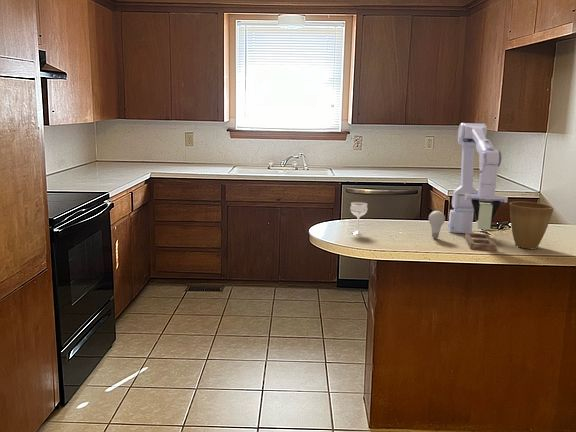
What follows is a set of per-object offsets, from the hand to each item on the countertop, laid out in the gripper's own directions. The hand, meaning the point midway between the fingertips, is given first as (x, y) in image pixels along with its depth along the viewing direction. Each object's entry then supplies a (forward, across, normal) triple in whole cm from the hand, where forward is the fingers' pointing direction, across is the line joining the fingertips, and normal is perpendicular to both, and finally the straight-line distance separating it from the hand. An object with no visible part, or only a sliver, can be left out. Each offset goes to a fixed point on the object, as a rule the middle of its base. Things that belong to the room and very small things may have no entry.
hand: (483, 220), depth 202 cm
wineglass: (+10, -46, +8) cm, 48 cm away
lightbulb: (+10, -16, +8) cm, 21 cm away
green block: (+3, 0, 0) cm, 3 cm away
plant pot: (+10, +17, +6) cm, 21 cm away
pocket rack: (+10, 0, +4) cm, 11 cm away
